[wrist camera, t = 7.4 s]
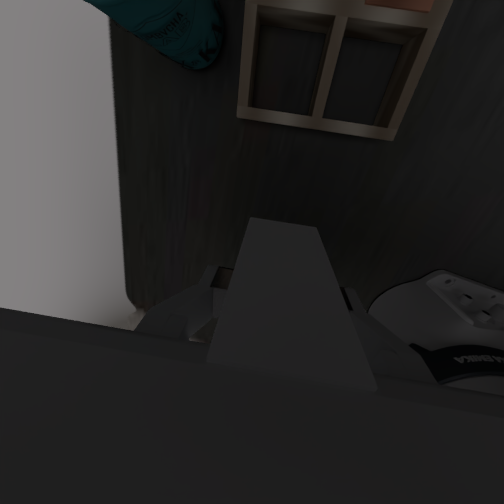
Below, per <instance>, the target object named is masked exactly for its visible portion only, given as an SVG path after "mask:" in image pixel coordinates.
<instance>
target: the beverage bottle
mask: <svg viewBox="0 0 504 504" xmlns="http://www.w3.org/2000/svg"><path fill="white" fill-rule="evenodd" d="M84 1H85V2H88V3H90V4H92V5H93V6H95V7H96V8H98V9H99V10H100V11H102V12H104V13H105V14H106V15H108V16H109V17H111V18H112V20H114V21H115V22H116V23H117V24H118V23H119V24H120V25H121V26H123V27H124V28H126V29H127V30H129V31H130V32H132V33H134V34H133V35H136V37H138V38H141V39H140V40H142V39H143V40H144V41H146V42H147V43H149V44H150V45H151V46H153V47H155V48H156V49H158V50H159V51H161V52H162V53H164V54H163V56H164V55H165V56H167V57H168V59H169V60H170V58H172V59H173V61H175V62H177V63H179V64H181V65H182V66H180V67H184V68H185V67H186V68H189V69H191V71H192V70H193V69H194V70H196V69H201V68H204V67H206V66H208V65H209V66H210V65H211V63H213V62H214V61H215V58H217V55H218V53H219V50H221V49H220V48H221V47H222V46H221V44H222V40H223V39H224V38H223V26H224V23H223V18H222V16H223V15H222V12H221V9H220V8H221V7H220V6H219V4H220V3H219V4H218V2H220V1H217V0H84ZM116 23H115V24H116ZM117 24H116V25H117ZM126 32H128V31H126ZM140 40H139V41H140ZM143 40H142V41H143ZM146 42H145V43H146ZM149 44H148V45H149ZM156 49H155V50H156ZM156 51H157V50H156ZM159 53H160V52H159ZM162 53H160V54H162ZM167 57H166V58H167ZM169 57H170V58H169ZM172 59H171V60H172ZM177 65H178V64H177ZM186 68H185V69H186ZM206 68H207V67H206ZM204 69H205V68H204ZM197 71H198V70H197Z"/></svg>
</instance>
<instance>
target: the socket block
mask: <svg viewBox="0 0 504 504" xmlns="http://www.w3.org/2000/svg"><path fill="white" fill-rule="evenodd" d="M452 2H453V0H245V13H244V26H243V40H242V53H241V66H240V79H239V92H238V105H237V117H238V118H243V119H249V120H256V121H262V122H269V123H275V124H282V125H289V126H295V127H302V128H308V129H315V130H321V131H328V132H334V133H341V134H348V135H354V136H361V137H367V138H374V139H381V140H389V141H393V139H394V137H395V135H396V132H397V130H398V128H399V126H400V123H401V121H402V119H403V116H404V114H405V112H406V109H407V107H408V105H409V102H410V100H411V98H412V95H413V93H414V91H415V88H416V86H417V84H418V81H419V79H420V77H421V74H422V72H423V70H424V67H425V65H426V63H427V60H428V58H429V56H430V53H431V51H432V49H433V46H434V44H435V42H436V39H437V37H438V35H439V32H440V30H441V28H442V25H443V23H444V21H445V18H446V16H447V14H448V11H449V9H450V7H451V4H452ZM261 25H267V26H275V27H282V28H289V29H296V30H303V31H310V32H317V33H324V34H326V37H325V41H324V45H323V50H322V54H321V59H320V63H319V68H318V72H317V76H316V81H315V85H314V90H313V94H312V98H311V103H310V107H309V112H308V116H304V115H298V114H291V113H284V112H278V111H271V110H265V109H258V108H252V101H253V92H254V82H255V73H256V64H257V54H258V45H259V35H260V26H261ZM343 36H345V37H352V38H359V39H366V40H373V41H380V42H387V43H394V44H401V45H403V46H402V48H401V51H400V54H399V56H398V59H397V62H396V64H395V67H394V70H393V73H392V75H391V78H390V81H389V83H388V86H387V89H386V91H385V94H384V97H383V99H382V102H381V105H380V107H379V110H378V113H377V116H376V118H375V121H374V124H373V126H370V125H364V124H357V123H351V122H344V121H337V120H331V119H324V118H322V116H323V112H324V108H325V104H326V100H327V97H328V93H329V89H330V85H331V81H332V77H333V73H334V69H335V66H336V62H337V58H338V54H339V50H340V46H341V42H342V38H343Z"/></svg>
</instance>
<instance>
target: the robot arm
mask: <svg viewBox="0 0 504 504" xmlns="http://www.w3.org/2000/svg"><path fill="white" fill-rule="evenodd" d="M233 271H234V269H231V268H225V267H220V266H214V265H208V266H207V268H206V270H205V272H204V274H203V276H202V278H201V280H200V282H199V283H198V285H193V286H191V287H189V288H188V289H186V290H184V291H182V292H180V293H178V294H176V295H174V296H173V297H171V298H169V299H167V300H165V301H163V302H161V303H159V304H157V305H156V306H154V307H152V308H150V309H149V310H148V312H147V313H146V315H145V316H144V317H143V319H142V320H141V322H140V323H139V324H138V326H137V327H136V329H135V330H134V331H131V330H125V329H120V328H114V327H108V326H103V325H97V324H91V323H85V322H80V321H74V320H68V319H63V318H57V317H51V316H45V315H39V314H34V313H28V312H22V311H17V310H11V309H5V308H0V504H504V292H503V291H500V290H498V289H495V288H492V287H490V286H487V285H484V284H481V283H479V282H476V281H473V280H470V279H468V278H465V277H462V276H459V275H457V274H454V273H451V272H448V271H445V270H437V271H434V272H432V273H430V274H428V275H426V276H425V277H423V278H421V279H419V280H416V281H413V282H409V283H405V284H402V285H399V286H396V287H394V288H392V289H390V290H388V291H386V292H385V293H383V294H382V295H381V296H379V297H378V298H377V299H376V300H375V301H374V302H373V304H372V305H371V307H370V309H369V311H368V314H367V313H366V312H365V310H364V308H363V306H362V304H361V302H360V300H359V297H358V295H357V293H356V291H355V289H353V288H348V287H339V288H340V290H341V293H342V295H343V298H344V301H345V303H346V306H347V308H348V311H349V314H350V316H351V319H352V321H353V324H354V327H355V329H356V332H357V334H358V337H359V340H360V342H361V345H362V348H363V350H364V353H365V355H366V358H367V361H368V363H369V366H370V368H371V371H372V374H373V376H374V379H375V381H376V384H377V387H378V389H377V390H376V391H375V392H373V391H367V390H361V389H356V388H350V387H345V386H339V385H333V384H328V383H322V382H316V381H311V380H305V379H300V378H294V377H288V376H283V375H277V374H272V373H266V372H260V371H255V370H249V369H243V368H238V367H232V366H227V365H221V364H215V363H210V362H206V357H207V354H208V351H209V348H210V345H211V344H206V343H200V342H194V341H189V338H190V337H191V336H192V335H193V334H194V333H195V332H197V331H198V330H199V329H200V328H201V327H202V326H203V325H205V324H206V323H207V322H208V321H209V320H210V319H211V318H212V317H215V318H219V316H220V313H221V309H222V306H223V303H224V300H225V297H226V293H227V290H228V287H229V284H230V280H231V277H232V274H233Z"/></svg>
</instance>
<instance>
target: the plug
mask: <svg viewBox="0 0 504 504" xmlns="http://www.w3.org/2000/svg"><path fill="white" fill-rule="evenodd" d="M206 362H210V363H215V364H221V365H227V366H232V367H238V368H243V369H249V370H255V371H260V372H266V373H272V374H277V375H283V376H288V377H294V378H300V379H305V380H311V381H316V382H322V383H328V384H333V385H339V386H345V387H350V388H356V389H361V390H367V391H373V392H375V391H376V390H377V389H378V387H377V384H376V381H375V379H374V376H373V374H372V371H371V368H370V366H369V363H368V361H367V358H366V355H365V353H364V350H363V348H362V345H361V342H360V340H359V337H358V334H357V332H356V329H355V327H354V324H353V321H352V319H351V316H350V314H349V311H348V308H347V306H346V303H345V301H344V298H343V295H342V293H341V290H340V288H339V285H338V282H337V280H336V277H335V275H334V272H333V269H332V267H331V264H330V261H329V259H328V256H327V254H326V251H325V248H324V246H323V243H322V241H321V238H320V235H319V233H318V230H317V228H316V227H311V226H304V225H298V224H291V223H285V222H279V221H272V220H266V219H259V218H253V217H250V220H249V223H248V226H247V229H246V232H245V236H244V239H243V242H242V245H241V248H240V252H239V255H238V258H237V261H236V264H235V268H234V271H233V274H232V277H231V280H230V284H229V287H228V290H227V293H226V297H225V300H224V303H223V306H222V309H221V313H220V316H219V319H218V322H217V325H216V329H215V332H214V335H213V338H212V341H211V345H210V348H209V351H208V354H207V357H206Z"/></svg>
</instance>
